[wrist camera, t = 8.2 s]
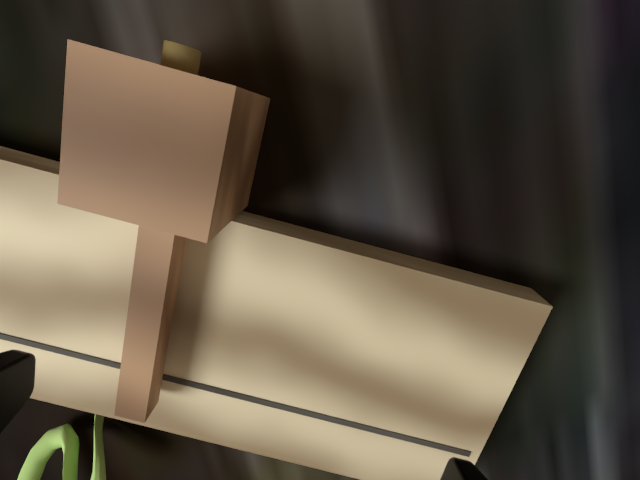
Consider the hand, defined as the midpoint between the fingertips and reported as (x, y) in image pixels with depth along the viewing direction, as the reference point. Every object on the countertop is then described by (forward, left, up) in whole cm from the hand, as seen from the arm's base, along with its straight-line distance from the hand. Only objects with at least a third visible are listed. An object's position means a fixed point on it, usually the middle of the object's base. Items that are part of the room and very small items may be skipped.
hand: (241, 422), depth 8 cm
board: (-5, +2, -11) cm, 13 cm away
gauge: (-1, +5, -11) cm, 13 cm away
